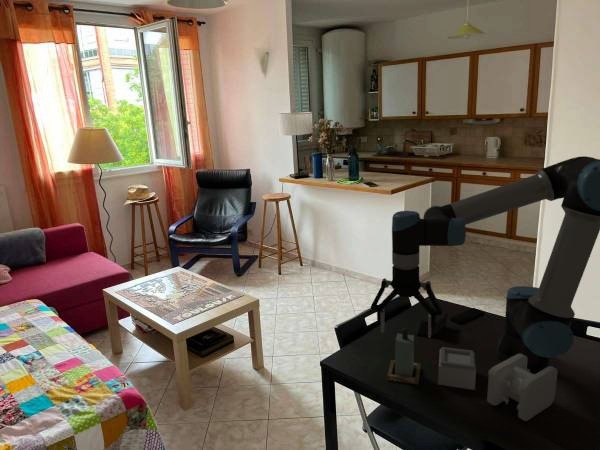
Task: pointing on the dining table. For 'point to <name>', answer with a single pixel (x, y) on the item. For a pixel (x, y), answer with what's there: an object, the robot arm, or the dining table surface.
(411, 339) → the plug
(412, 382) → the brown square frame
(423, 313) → the dining table surface
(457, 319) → the remote control
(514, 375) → the cable organizer
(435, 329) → the handheld gaming console
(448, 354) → the grey square recessed block
